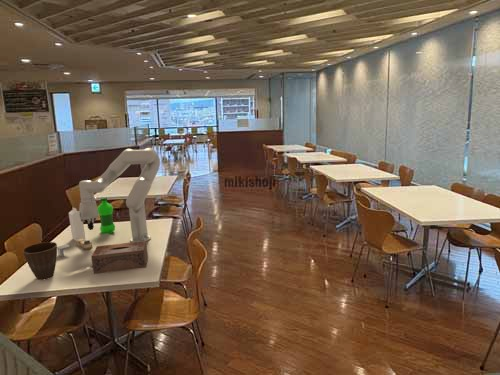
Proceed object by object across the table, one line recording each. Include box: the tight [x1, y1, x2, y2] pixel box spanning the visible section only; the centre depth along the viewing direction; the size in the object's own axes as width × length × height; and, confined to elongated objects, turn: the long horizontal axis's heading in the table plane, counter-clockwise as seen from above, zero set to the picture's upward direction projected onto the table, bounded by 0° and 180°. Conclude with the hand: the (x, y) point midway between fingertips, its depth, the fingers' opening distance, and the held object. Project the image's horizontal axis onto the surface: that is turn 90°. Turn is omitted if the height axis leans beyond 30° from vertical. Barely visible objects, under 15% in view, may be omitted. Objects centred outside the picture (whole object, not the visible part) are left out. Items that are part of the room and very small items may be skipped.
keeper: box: [57, 243, 71, 258], centre depth 212 cm, size 5×6×6 cm
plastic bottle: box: [97, 196, 116, 235], centre depth 250 cm, size 10×10×25 cm
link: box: [76, 238, 93, 251], centre depth 225 cm, size 16×5×4 cm, turn 43°
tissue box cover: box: [90, 241, 149, 275], centre depth 196 cm, size 26×14×10 cm, turn 101°
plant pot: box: [22, 241, 58, 281], centre depth 186 cm, size 15×15×16 cm
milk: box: [68, 207, 86, 242], centre depth 239 cm, size 6×6×22 cm
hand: (90, 229), depth 229 cm, fingers closed
